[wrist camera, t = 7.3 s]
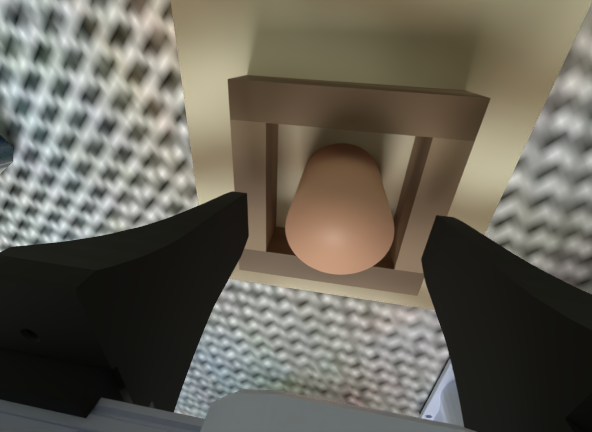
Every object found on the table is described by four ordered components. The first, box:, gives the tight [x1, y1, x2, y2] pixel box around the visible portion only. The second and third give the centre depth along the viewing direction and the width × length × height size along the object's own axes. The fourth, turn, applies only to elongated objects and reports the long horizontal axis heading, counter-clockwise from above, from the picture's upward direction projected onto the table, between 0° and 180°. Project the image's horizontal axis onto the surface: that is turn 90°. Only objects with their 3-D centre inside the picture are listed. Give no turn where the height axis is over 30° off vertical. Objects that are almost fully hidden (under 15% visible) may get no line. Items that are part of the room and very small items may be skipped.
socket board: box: [171, 0, 592, 310], centre depth 14 cm, size 16×16×4 cm
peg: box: [285, 143, 394, 275], centre depth 13 cm, size 4×4×5 cm
